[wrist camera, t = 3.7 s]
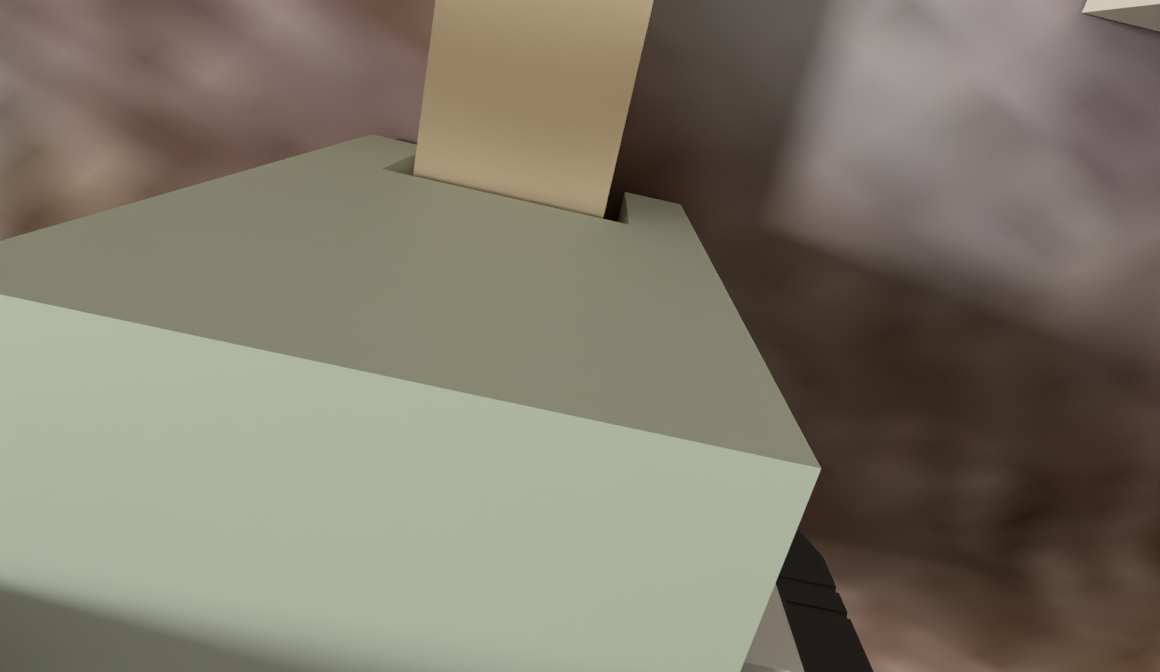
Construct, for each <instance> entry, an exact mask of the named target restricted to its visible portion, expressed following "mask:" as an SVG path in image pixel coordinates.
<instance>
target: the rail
mask: <svg viewBox="0 0 1160 672" xmlns="http://www.w3.org/2000/svg"><path fill="white" fill-rule="evenodd" d="M653 2H654V0H436V2H435V9H434V17H433V25H432V32H431V40H430V48H429V55H428V63H427V71H426V79H425V86H424V94H423V102H422V109H421V117H420V125H419V132H418V140H417V148H416V156H415V163H414V171H413V176H415V177H420V178H424V179H428V180H433V181H437V182H442V183H446V184H451V185H455V186H460V187H464V188H468V189H473V190H477V191H482V192H486V193H491V194H495V195H500V196H504V197H508V198H513V199H517V200H522V201H526V202H531V203H535V204H540V205H544V206H548V207H553V208H557V209H562V210H566V211H571V212H575V213H579V214H584V215H588V216H593V217H597V218H602V219H603V217H604V212H605V208H606V204H607V200H608V195H609V191H610V187H611V182H612V178H613V174H614V169H615V165H616V161H617V157H618V152H619V148H620V144H621V139H622V135H623V131H624V126H625V122H626V118H627V114H628V109H629V105H630V101H631V96H632V92H633V88H634V83H635V79H636V75H637V71H638V66H639V62H640V58H641V53H642V49H643V45H644V40H645V36H646V32H647V28H648V23H649V19H650V15H651V10H652V6H653Z"/></svg>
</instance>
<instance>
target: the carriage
mask: <svg viewBox="0 0 1160 672" xmlns="http://www.w3.org/2000/svg"><path fill="white" fill-rule="evenodd" d="M416 148H417V144H412V143H408V142H403V141H399V140H394V139H390V138H386V137H381V136H377V135H372V134H371V135H368V136H364V137H361V138H357V139H354V140H350V141H347V142H343V143H340V144H336V145H333V146H329V147H326V148H322V149H319V150H315V151H312V152H308V153H305V154H302V155H298V156H295V157H291V158H288V159H284V160H281V161H277V162H274V163H270V164H267V165H263V166H260V167H256V168H253V169H249V170H246V171H242V172H239V173H235V174H232V175H229V176H225V177H222V178H218V179H215V180H211V181H208V182H204V183H201V184H197V185H194V186H190V187H187V188H183V189H180V190H176V191H173V192H169V193H166V194H162V195H159V196H155V197H152V198H149V199H145V200H142V201H138V202H135V203H131V204H128V205H124V206H121V207H117V208H114V209H110V210H107V211H103V212H100V213H96V214H93V215H89V216H86V217H82V218H79V219H75V220H72V221H69V222H65V223H62V224H58V225H55V226H51V227H48V228H44V229H41V230H37V231H34V232H30V233H27V234H23V235H20V236H16V237H13V238H9V239H6V240H2V241H0V672H740V671H741V668H742V666H743V663H744V661H745V658H746V656H747V653H748V651H749V648H750V646H751V643H752V641H753V638H754V636H755V633H756V631H757V628H758V626H759V623H760V621H761V618H762V616H763V613H764V611H765V608H766V606H767V603H768V601H769V598H770V596H771V593H772V591H773V588H774V586H775V583H776V581H777V578H778V576H779V573H780V571H781V568H782V566H783V563H784V561H785V558H786V556H787V553H788V551H789V548H790V546H791V543H792V541H793V538H794V536H795V533H796V531H797V528H798V526H799V523H800V521H801V518H802V516H803V513H804V511H805V508H806V506H807V503H808V501H809V498H810V496H811V493H812V491H813V488H814V486H815V483H816V481H817V478H818V476H819V473H820V471H821V467H820V465H819V463H818V461H817V460H816V458H815V456H814V454H813V452H812V450H811V448H810V446H809V445H808V443H807V441H806V439H805V437H804V435H803V433H802V431H801V430H800V428H799V426H798V424H797V422H796V420H795V418H794V416H793V415H792V413H791V411H790V409H789V407H788V405H787V403H786V401H785V399H784V398H783V396H782V394H781V392H780V390H779V388H778V386H777V384H776V383H775V381H774V379H773V377H772V375H771V373H770V371H769V369H768V368H767V366H766V364H765V362H764V360H763V358H762V356H761V354H760V353H759V351H758V349H757V347H756V345H755V343H754V341H753V339H752V338H751V336H750V334H749V332H748V330H747V328H746V326H745V324H744V323H743V321H742V319H741V317H740V315H739V313H738V311H737V309H736V308H735V306H734V304H733V302H732V300H731V298H730V296H729V294H728V293H727V291H726V289H725V287H724V285H723V283H722V281H721V279H720V278H719V276H718V274H717V272H716V270H715V268H714V266H713V264H712V263H711V261H710V259H709V257H708V255H707V253H706V251H705V249H704V248H703V246H702V244H701V242H700V240H699V238H698V236H697V234H696V232H695V231H694V229H693V227H692V225H691V223H690V221H689V219H688V217H687V216H686V214H685V212H684V210H683V208H682V206H681V204H676V203H672V202H667V201H663V200H659V199H654V198H650V197H645V196H641V195H637V194H632V193H628V192H625V193H624V197H623V202H622V206H621V210H620V214H619V218H618V222H615V221H611V220H606V219H602V218H597V217H593V216H588V215H584V214H579V213H575V212H571V211H566V210H562V209H557V208H553V207H548V206H544V205H540V204H535V203H531V202H526V201H522V200H517V199H513V198H508V197H504V196H500V195H495V194H491V193H486V192H482V191H477V190H473V189H468V188H464V187H460V186H455V185H451V184H446V183H442V182H437V181H433V180H428V179H424V178H420V177H415V176H413V171H414V163H415V156H416Z"/></svg>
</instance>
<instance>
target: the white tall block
mask: <svg viewBox="0 0 1160 672" xmlns="http://www.w3.org/2000/svg"><path fill="white" fill-rule="evenodd" d="M1082 13H1085V14H1089V15H1093V16H1097V17H1101V18H1105V19H1110V20H1114V21H1118V22H1122V23H1126V24H1130V25H1134V26H1138V27H1142V28H1146V29H1150V30H1154V31H1158V32H1160V0H1087V2H1086V4H1085V6H1084V9H1083V11H1082Z"/></svg>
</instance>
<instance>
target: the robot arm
mask: <svg viewBox="0 0 1160 672" xmlns="http://www.w3.org/2000/svg"><path fill="white" fill-rule="evenodd" d="M835 590H836V586H835V583H834V581H833V579H832V577H831V574H830V572H829V570H828V567H827V565H826V563H825V561H824V558H823V557H822V555H821V554H820V553H819V552H818V551H817V550H816V549H815V548H814V547H813V546H812V545H811V543H810V542H809V541H808V540H807V539H806V538H805V537H804V536H803V535H802V534H801V533H800V531H799V530H798V529H797V531H796V533H795V536H794V538H793V541H792V543H791V546H790V548H789V551H788V553H787V556H786V558H785V561H784V563H783V566H782V568H781V571H780V573H779V576H778V578H777V581H776V583H775V586H774V588H773V591H772V593H771V596H770V598H769V601H768V603H767V606H766V608H765V611H764V613H763V616H762V618H761V621H760V623H759V626H758V628H757V631H756V633H755V636H754V638H753V641H752V643H751V646H750V648H749V651H748V653H747V656H746V658H745V661H744V663H743V666H742V668H741V671H740V672H873V670H872V668H871V665H870V663H869V661H868V658H867V656H866V654H865V652H864V649H863V647H862V645H861V643H860V640H859V638H858V636H857V633H856V631H855V629H854V627H853V624H852V622H851V620H850V619H847V611H846V608H845V606H844V604H843V602H842V599H841V597H840V595H839V593H836V592H835Z"/></svg>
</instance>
